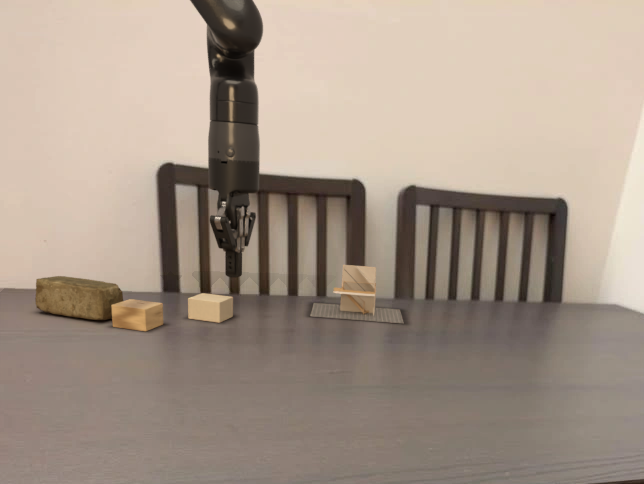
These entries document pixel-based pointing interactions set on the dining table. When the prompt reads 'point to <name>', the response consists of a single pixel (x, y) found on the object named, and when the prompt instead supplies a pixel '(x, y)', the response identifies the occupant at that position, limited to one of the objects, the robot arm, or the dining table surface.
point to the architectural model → (357, 298)
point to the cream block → (210, 307)
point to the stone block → (77, 297)
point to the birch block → (137, 315)
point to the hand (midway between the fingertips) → (233, 276)
